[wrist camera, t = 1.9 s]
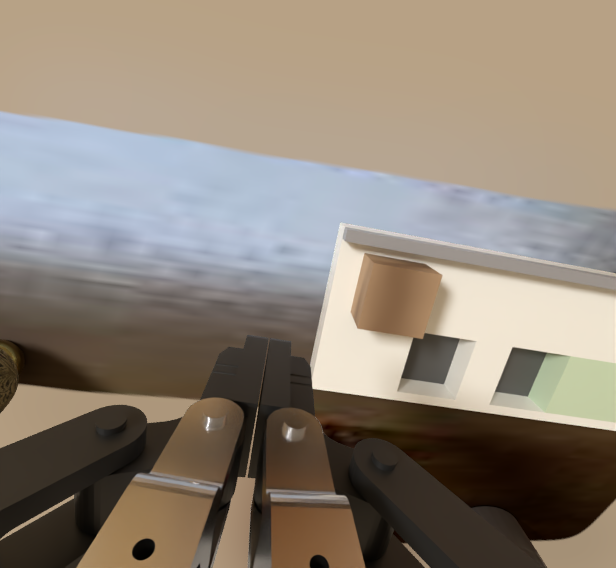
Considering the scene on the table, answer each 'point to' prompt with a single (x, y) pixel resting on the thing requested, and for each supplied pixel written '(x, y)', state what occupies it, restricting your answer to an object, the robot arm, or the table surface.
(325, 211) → the table surface
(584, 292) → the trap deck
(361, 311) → the walnut block
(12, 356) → the cup
